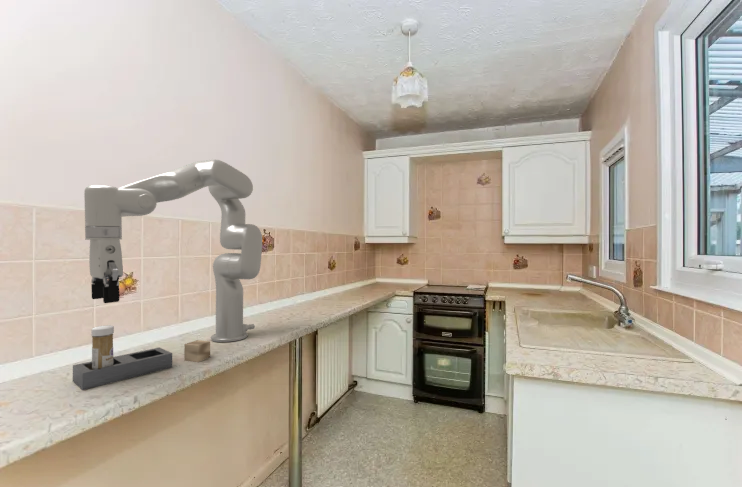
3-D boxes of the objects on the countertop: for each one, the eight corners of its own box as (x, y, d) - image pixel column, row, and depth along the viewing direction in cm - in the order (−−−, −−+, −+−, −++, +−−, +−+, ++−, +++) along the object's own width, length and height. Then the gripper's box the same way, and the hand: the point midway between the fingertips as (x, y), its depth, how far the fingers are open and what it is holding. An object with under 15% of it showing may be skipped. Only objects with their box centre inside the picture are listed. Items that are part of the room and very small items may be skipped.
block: (197, 356, 109) (197, 340, 109) (210, 357, 108) (210, 341, 108) (184, 361, 104) (184, 344, 104) (197, 362, 103) (197, 345, 103)
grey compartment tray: (159, 360, 104) (159, 347, 104) (172, 367, 98) (172, 353, 98) (72, 381, 88) (72, 365, 88) (82, 390, 83) (82, 373, 83)
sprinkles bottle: (113, 380, 89) (113, 327, 89) (90, 384, 86) (90, 329, 87) (114, 374, 93) (114, 323, 93) (92, 378, 90) (92, 326, 90)
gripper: (133, 233, 87) (134, 301, 88) (110, 234, 98) (111, 295, 98) (96, 233, 82) (97, 306, 82) (76, 234, 92) (77, 299, 93)
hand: (105, 300), depth 90 cm, fingers open, 9 cm apart
